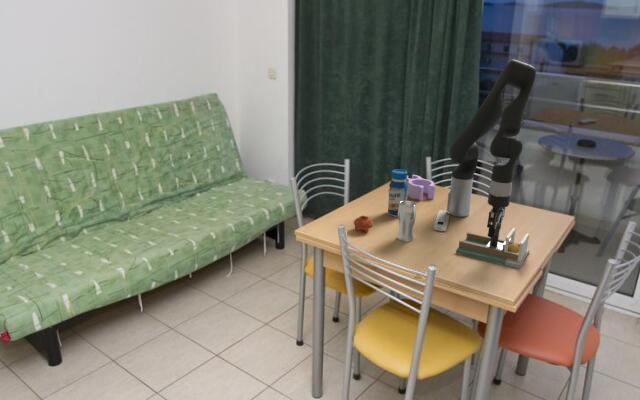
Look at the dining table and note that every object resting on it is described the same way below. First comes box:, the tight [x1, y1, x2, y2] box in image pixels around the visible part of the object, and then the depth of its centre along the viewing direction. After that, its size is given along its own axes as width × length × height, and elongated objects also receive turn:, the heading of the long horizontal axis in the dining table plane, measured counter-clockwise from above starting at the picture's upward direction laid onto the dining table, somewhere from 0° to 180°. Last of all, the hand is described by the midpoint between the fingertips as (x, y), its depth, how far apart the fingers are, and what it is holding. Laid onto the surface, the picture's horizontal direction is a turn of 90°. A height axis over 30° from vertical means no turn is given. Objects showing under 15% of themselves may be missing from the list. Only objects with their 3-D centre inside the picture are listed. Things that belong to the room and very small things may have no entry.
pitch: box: [455, 227, 530, 269], centre depth 194 cm, size 23×16×10 cm
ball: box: [508, 242, 519, 253], centre depth 191 cm, size 4×4×4 cm
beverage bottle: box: [387, 168, 408, 218], centre depth 230 cm, size 8×8×20 cm
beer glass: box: [397, 200, 417, 243], centre depth 205 cm, size 7×7×15 cm
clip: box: [406, 174, 436, 202], centre depth 258 cm, size 20×12×7 cm, turn 18°
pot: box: [353, 215, 374, 234], centre depth 214 cm, size 8×8×7 cm
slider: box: [486, 222, 511, 250], centre depth 193 cm, size 7×7×10 cm
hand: (494, 233), depth 193 cm, fingers open, 8 cm apart
